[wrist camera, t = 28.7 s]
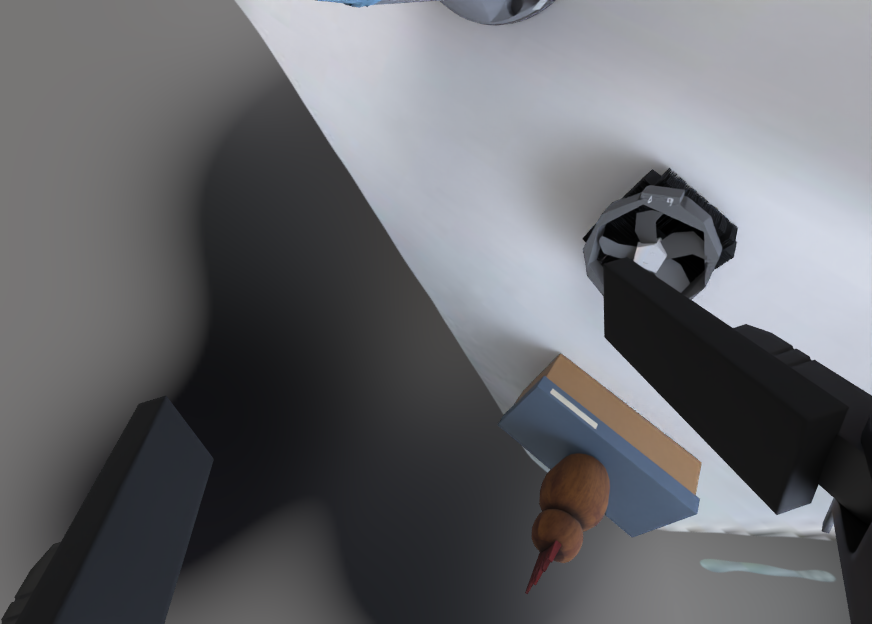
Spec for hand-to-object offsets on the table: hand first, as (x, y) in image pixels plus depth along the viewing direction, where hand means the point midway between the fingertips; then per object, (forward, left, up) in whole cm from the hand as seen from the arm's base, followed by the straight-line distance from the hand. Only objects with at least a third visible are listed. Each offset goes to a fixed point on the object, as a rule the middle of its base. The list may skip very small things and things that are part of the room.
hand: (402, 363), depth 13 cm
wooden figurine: (+18, -30, -27) cm, 43 cm away
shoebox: (+18, -30, -33) cm, 48 cm away
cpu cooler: (+7, -7, -34) cm, 35 cm away
